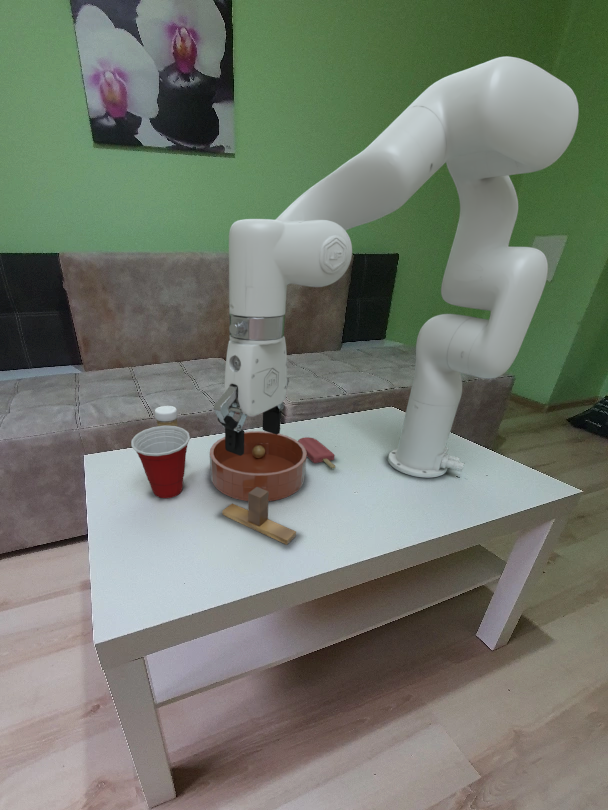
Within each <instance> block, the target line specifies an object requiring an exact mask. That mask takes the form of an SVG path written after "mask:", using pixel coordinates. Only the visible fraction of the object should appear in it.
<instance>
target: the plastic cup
mask: <svg viewBox="0 0 608 810" xmlns="http://www.w3.org/2000/svg"><path fill="white" fill-rule="evenodd" d="M190 440H191V436H190V433H189V431H187V430H186V429H185V428H184V427H183V428H182V427H180V426H178V427H176V426H152V427H149V428H146V429H143V430H142V431H140V432H137V434H135V435H134V436H133V438H132V439H131V440H130V441H131V442H130V443H131V448H132V449H133V450H134V451H135V452H136V454H137V455H138V458H139V460H140V462H141V465H142V467H143V471H144V474H145V476H146V478H147V480H148V482H149V486H150V488H151V492H152V493H153V494H154V495H155V497H158V498H160V499H171V498H174V497H177V496H178V495H180V494H181V492H182V490H183V487H184V477H185V472H186V471H185V469H186V458H187V450H188V445H189V442H190Z"/></svg>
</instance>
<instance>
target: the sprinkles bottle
mask: <svg viewBox="0 0 608 810" xmlns="http://www.w3.org/2000/svg"><path fill="white" fill-rule="evenodd" d="M154 418H155V420H156V425H157V426H176V427H179V426H178V409H177V407H175V406H172V405H162V406H158V407H156V408H154ZM157 426H156V427H157Z"/></svg>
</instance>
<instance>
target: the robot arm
mask: <svg viewBox="0 0 608 810" xmlns="http://www.w3.org/2000/svg"><path fill="white" fill-rule="evenodd" d="M579 110H580V109H579V102H578V98H577V96H576V94H575V92H574V90H573V89H572V88H571V87H570V86H569V85H568V84H567V83H565V82H564V81H563V80H561V79H559V78H557V77H556V76H554V75H553V74H551V73H549V72H548V71H547V70H546V69H544V68H542V67H540V66H538V65H536V64H535V63H532V62H530V61H528V60H525V59H523V58H519V57H515V56H507V55H506V56H499V57H495V58H493V59H490V60H488V61H485V62H483V63H479V64H477V65H474V66H472V67H469V68H466V69H462V70H460V71H458V72H454V73H451V74H449V75H447V76H445V77H442V78H440V79H439V80H437V81H435V82H433V83H432V84H431V85H430V86H428V87H427V88H426V89H425V90H424V91H423V92H421V94H420V95H418V97H417V98H416V99H414V100H413V102H411V103H410V104H409V105H408V106H407V108H405V109H404V110H403V111H402V112H401V114H399V116H397V117H396V118H395V119H394V120H393V121H392V122H391V123H390V124H389V125H388V126H387V127H386V128H385V129H384V130H383V131H382V132H381V133H380V134H378V136H376V138H375V139H374V140H373V141H372V142H371V143H370V144H369V145H368V146H367V147H365V148H364V149H363V150H362V151H361V152H359V153H358V154H356V155H354V156H353V157H351V158H350V159H349V160H347V161H346V162H344V163H343V164H341V165H340V166H339V167H338V168H336V169H335V170H334V171H332V172H331V173H329V174H328V175H326V176H325V177H324V178H322V179H320V180H319V181H317V182H316V183H315V184H314V185H313V186H311V187H309V188H308V189H307V190H305V191H304V192H303V193H302V194H301V195H300V196H298V197H297V198H296V199H295V200H294V201H293V202H292V203H290V204H289V205H288V207H286V208H285V210H283V211H282V212H281V213H280V214H279V215H278V217H276V218H275V219H270V218H244V219H238V220H236V221H234V222H233V223H232V224H231V226H230V228H229V231H228V304H229V305H228V309H229V310H228V313H229V314H228V317H229V318H228V319H229V320H228V322H229V324H228V326H229V327H228V331H229V341H228V344H227V348H226V349H227V350H226V358H225V367H224V368H225V369H224V392H223V394H222V395H221V396H220V398H218V400H217V401H216V402H215V403H214V405H213V411H214V413H215V415H216V418H217V421H218V422H219V423H220V424H221V427H222V428H224V437H225V449H226V450H227V451H229V452H231V453H234V454H237V455H239V456H241V455H243V454H244V432H245V430H244V429H243V426H244V425H245V422H246V420H247V417H251V418H254V417H257V416H259V415H261V414H262V427H261V428H262V431H265V432H270V433H273V434H276V435H277V434H281V421H282V410H283V409H284V402H285V400H286V398H287V390H288V387H289V383H290V378H289V377H288V355H287V354H288V353H287V344H286V337H285V323H286V310H287V309H286V307H287V292H288V291H287V290H288V285H289V286H290V285H297V286H302V287H309V288H323V287H327V286H330V285H332V284H334V283H336V282H337V281H339V280H340V279H341V278H342V277H343V276H344V275H345V273H346V272H347V270H348V269H349V266H350V264H351V261H352V256H353V245H352V240H351V238H350V236H349V234H348V232H347V231H348V230H350V229H353V228H355V227H358V226H359V227H360V226H362V225H365V224H368V223H371V222H374V221H377V220H379V219H382V218H383V217H386V216H388V215H390V214H392V213H394V212H396V211H397V210H398V209H400V208H401V207H403V206H404V205H405V204H406V203H407V202H408V201H409V199H411V198H412V197H413V195H414V194H416V193H417V191H419V189H420V188H422V187H423V185H424V184H425V183H426V182H427V181H428V180H429V179H431V178H432V177H433V175H435V173H436V172H438V171H439V170H440V169H441V168H442V167H443V166H444V165H445V164H446V167H447V170H448V173H449V175H450V177H451V179H452V180H453V181H452V182H453V183H454V185H455V189H456V191H457V195H458V200H459V217H458V222H457V226H456V231H455V234H454V238H453V240H452V241H453V242H452V245H451V249H450V252H449V256H448V259H447V262H446V266H445V269H444V273H443V277H442V281H441V285H440V286H441V287H440V295H441V297H442V298H441V299H442V300H444V302H445V303H447V304H449V305H452V306H456V307H461V308H468V309H475V310H481V311H490V314H489V319H488V318H481V317H476V316H475V317H474V316H471V315H463V314H457V313H442V314H438V315H434V316H433V317H431V318H429V319H428V320H426V322H424V324H423V325H422V326H421V328H420V329H419V332H418V334H417V337H416V343H415V364H414V373H413V379H412V384H411V388H410V393H409V397H408V401H407V406H406V409H405V414H404V417H403V423H402V428H401V431H400V437H399V441H398V444H397V448H395V449H392V450H391V451H390V452H389V453H388V456H387V462H388V464H389V465H390V466H391V467H392V468H394V469H395V470H397V471H398V472H400V473H402V474H406V475H408V476H412V477H417V478H423V479H424V478H430V479H431V478H438V477H441V476H443V475H445V474H446V473H447V471H448V469H451V470H454V471H457V472H463V470H464V467H465V464H466V462H462V461H461V457H457V456H452V455H450V453H448V451H449V447H447V444H448V441H449V437H450V434H451V430H452V427H453V424H454V422H455V417H456V415H457V411H458V409H459V408H458V407H459V405H460V402H461V398H462V394H463V380H462V375H461V374H465V375H467V376H471V377H476V378H480V379H483V380H492V379H493V380H494V379H496V378H499V377H501V376H503V375H504V374H506V372H507V371H508V370H509V369H510V368H511V366H512V365H513V364H514V362H515V360H516V358H517V356H518V354H519V351H520V350H521V346H522V344H523V342H524V339H525V337H526V335H527V332H528V330H529V327H530V325H531V323H532V320H533V317H534V315H535V312H536V309H537V307H538V305H539V302H540V300H541V297H542V295H543V292H544V289H545V287H546V282H547V279H548V271H549V270H548V269H549V264H548V260H547V256H546V255H545V253H544V252H543V251H541V249H538V248H536V247H531V246H509V245H510V241H511V237H512V235H513V231H514V228H515V225H516V221H517V219H518V213H519V200H518V195H517V191H516V188H515V186H514V183H513V182H512V181H513V180H511V177H510V176H513V175H520V174H521V175H522V174H529V173H530V174H531V173H534V172H539V171H542V170H544V169H546V168H548V167H550V166H552V165H553V164H554V163H556V162H557V161H558V160H559V159H560V157H561V156H562V155H563V154H564V153H565V152H566V151H567V149H568V147H569V146H570V144H571V142H572V140H573V138H574V136H575V134H576V130H577V126H578V121H579V112H580V111H579ZM235 414H236V415H238V416H237V418H236V419H234V416H235Z"/></svg>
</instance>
